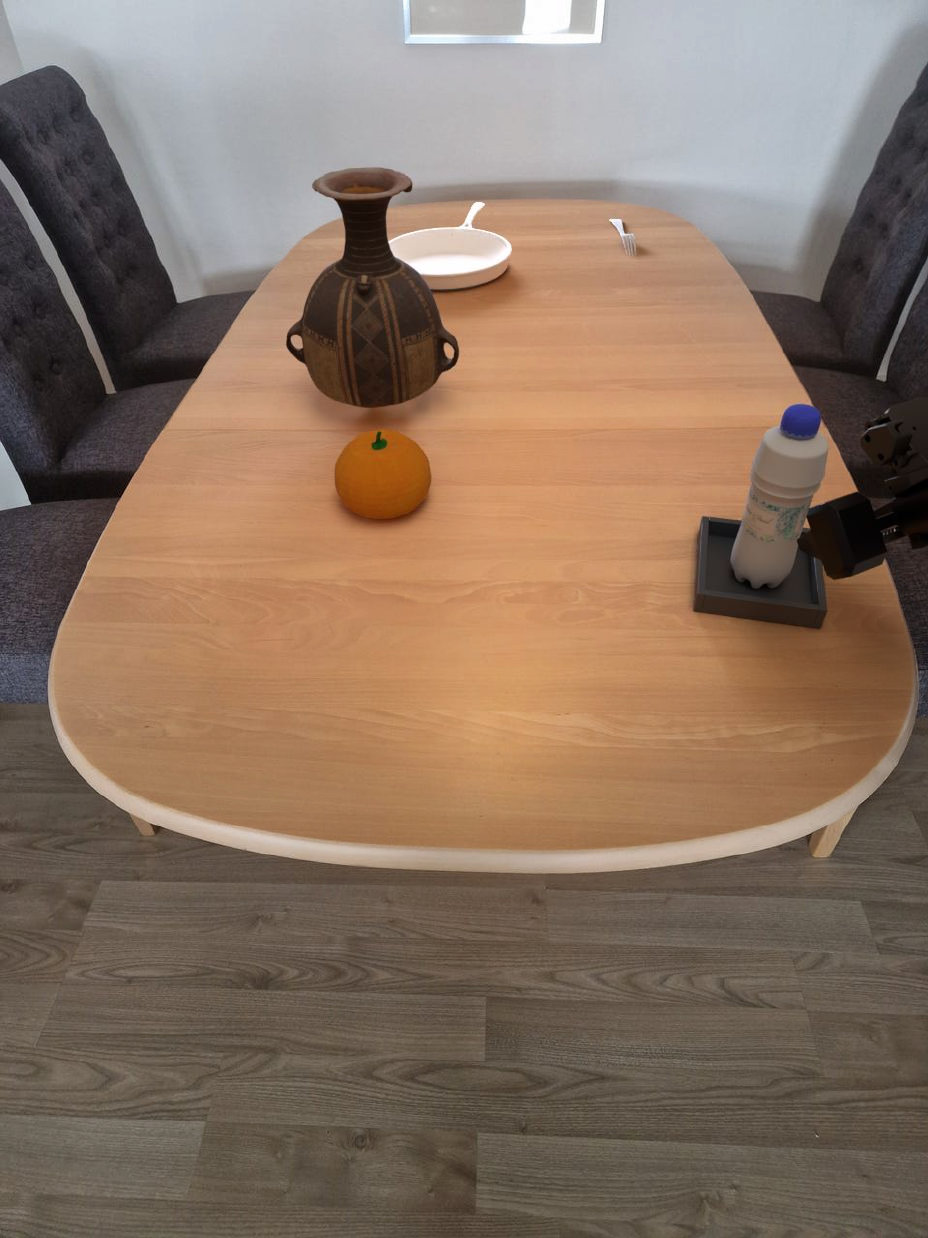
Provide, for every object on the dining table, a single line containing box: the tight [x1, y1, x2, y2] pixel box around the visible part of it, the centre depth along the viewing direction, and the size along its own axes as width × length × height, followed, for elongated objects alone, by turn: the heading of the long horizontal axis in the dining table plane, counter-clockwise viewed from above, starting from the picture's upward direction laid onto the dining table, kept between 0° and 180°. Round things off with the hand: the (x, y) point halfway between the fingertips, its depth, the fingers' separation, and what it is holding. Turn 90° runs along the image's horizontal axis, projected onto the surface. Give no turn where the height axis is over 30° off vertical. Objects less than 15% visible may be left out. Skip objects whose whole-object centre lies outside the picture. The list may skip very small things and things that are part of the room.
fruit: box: [333, 428, 432, 520], centre depth 97 cm, size 12×12×10 cm
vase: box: [285, 166, 460, 409], centre depth 107 cm, size 23×19×30 cm
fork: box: [609, 218, 637, 257], centre depth 164 cm, size 3×21×3 cm, turn 1°
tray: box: [693, 515, 828, 630], centre depth 87 cm, size 13×14×2 cm
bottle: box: [730, 403, 830, 589], centre depth 80 cm, size 7×7×20 cm
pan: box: [388, 201, 513, 292], centre depth 158 cm, size 25×38×5 cm, turn 164°
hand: (837, 530), depth 75 cm, fingers open, 9 cm apart
